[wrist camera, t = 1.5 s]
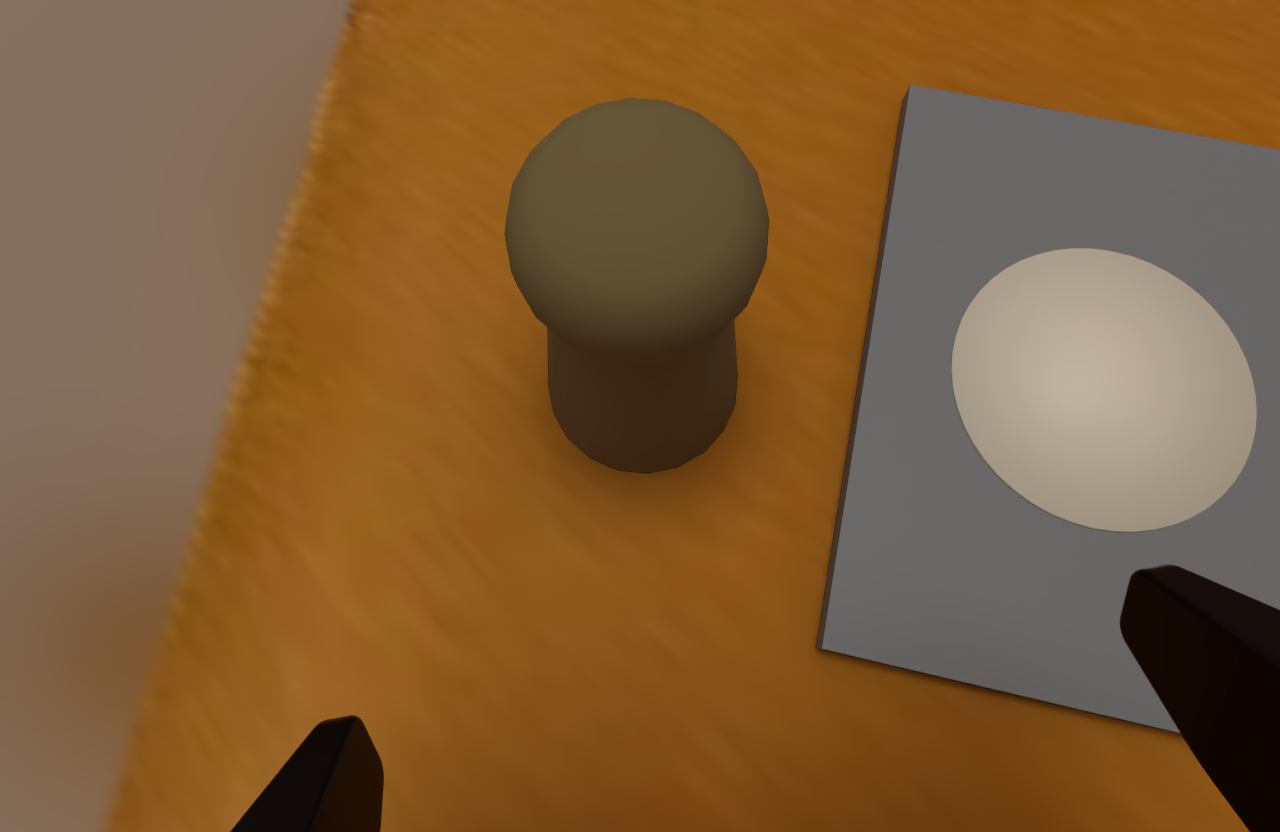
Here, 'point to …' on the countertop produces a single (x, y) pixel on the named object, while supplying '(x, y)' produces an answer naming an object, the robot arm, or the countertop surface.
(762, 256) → the olive rounded peg
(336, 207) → the countertop surface
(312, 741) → the robot arm
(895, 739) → the countertop surface
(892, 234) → the board
